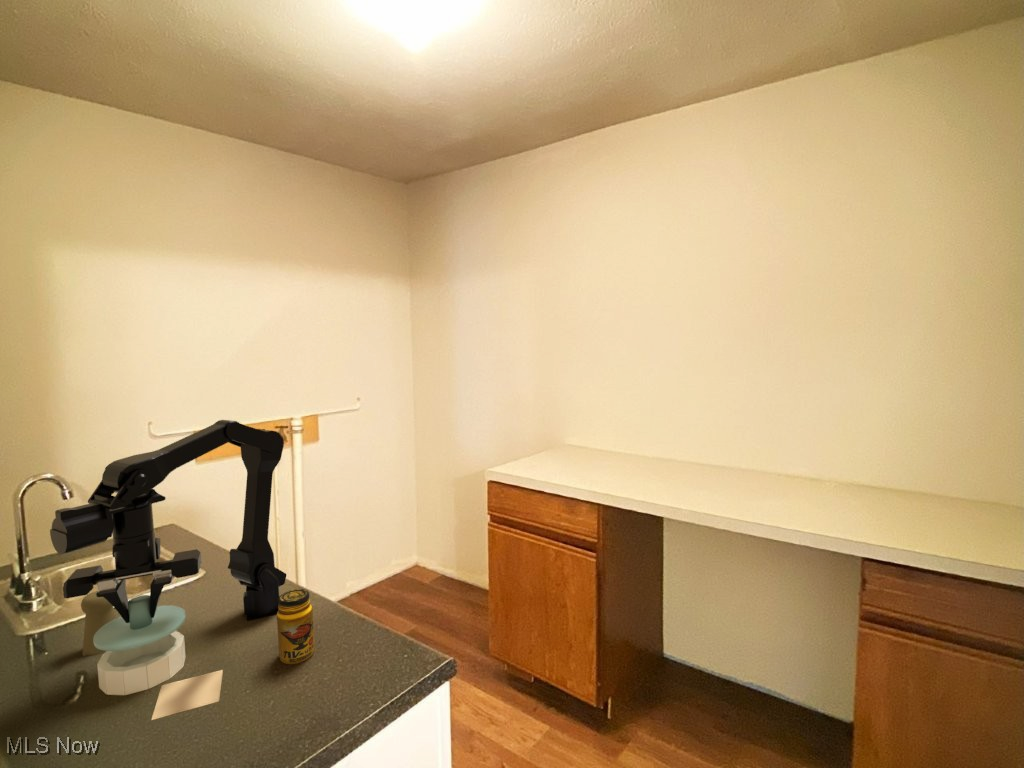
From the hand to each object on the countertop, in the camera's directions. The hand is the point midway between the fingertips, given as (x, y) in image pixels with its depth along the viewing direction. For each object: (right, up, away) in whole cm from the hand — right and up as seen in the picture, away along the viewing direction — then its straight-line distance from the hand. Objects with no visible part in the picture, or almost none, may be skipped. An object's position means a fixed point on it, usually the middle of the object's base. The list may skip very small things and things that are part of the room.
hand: (140, 619), depth 89 cm
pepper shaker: (-14, -10, +9) cm, 19 cm away
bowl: (0, -10, +1) cm, 10 cm away
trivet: (+12, -10, -5) cm, 17 cm away
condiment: (+25, -9, +5) cm, 27 cm away
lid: (0, -2, 0) cm, 2 cm away
